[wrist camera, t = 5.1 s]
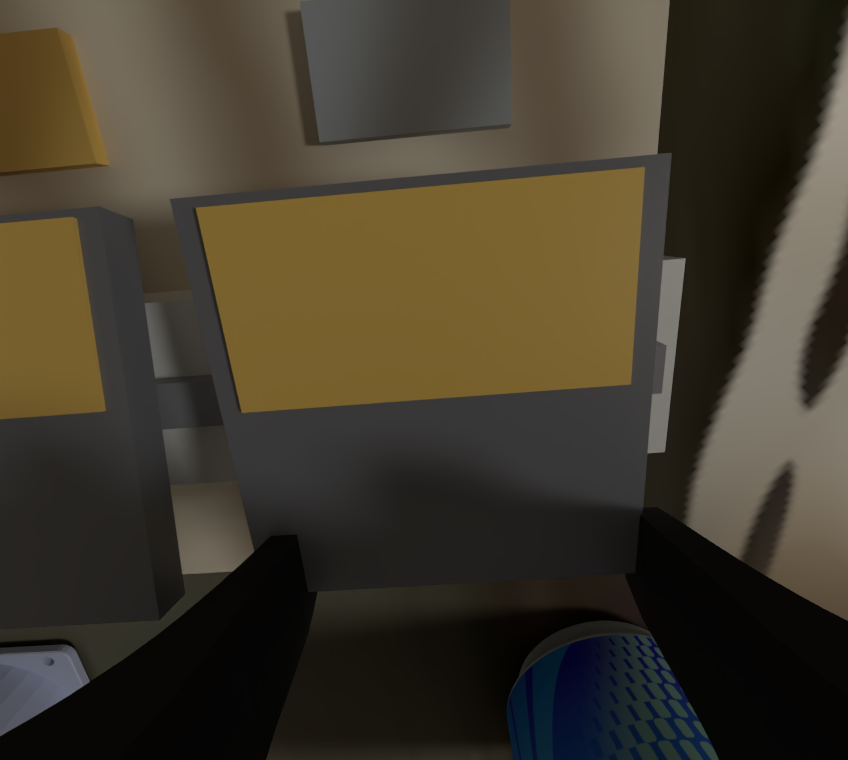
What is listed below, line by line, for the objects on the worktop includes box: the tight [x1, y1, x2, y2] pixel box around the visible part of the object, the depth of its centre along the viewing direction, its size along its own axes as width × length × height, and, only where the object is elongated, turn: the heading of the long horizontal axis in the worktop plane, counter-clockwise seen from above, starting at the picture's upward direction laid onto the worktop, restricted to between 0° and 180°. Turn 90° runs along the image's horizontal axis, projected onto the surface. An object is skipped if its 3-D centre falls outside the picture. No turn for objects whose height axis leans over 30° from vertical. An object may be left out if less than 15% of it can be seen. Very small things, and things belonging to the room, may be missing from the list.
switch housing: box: [143, 256, 685, 485], centre depth 13 cm, size 22×5×4 cm, turn 95°
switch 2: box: [170, 153, 672, 592], centre depth 10 cm, size 9×9×1 cm
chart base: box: [0, 0, 670, 574], centre depth 14 cm, size 23×18×2 cm
